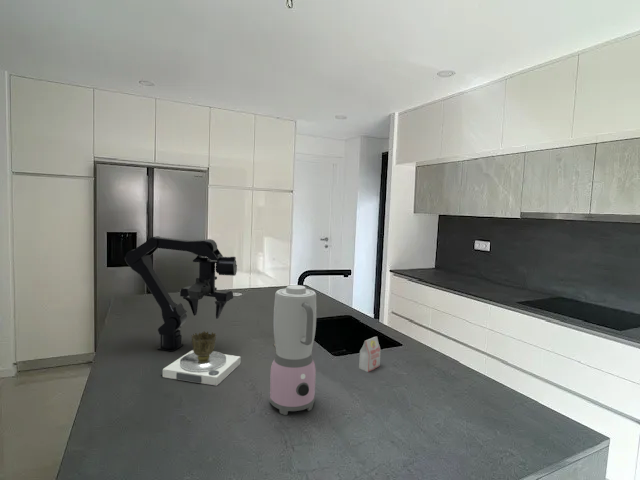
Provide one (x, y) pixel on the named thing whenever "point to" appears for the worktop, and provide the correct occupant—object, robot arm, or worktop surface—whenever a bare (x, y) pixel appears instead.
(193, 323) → the worktop surface
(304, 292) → the blender
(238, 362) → the scale base
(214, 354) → the scale pan
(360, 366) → the milk carton
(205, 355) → the cup
